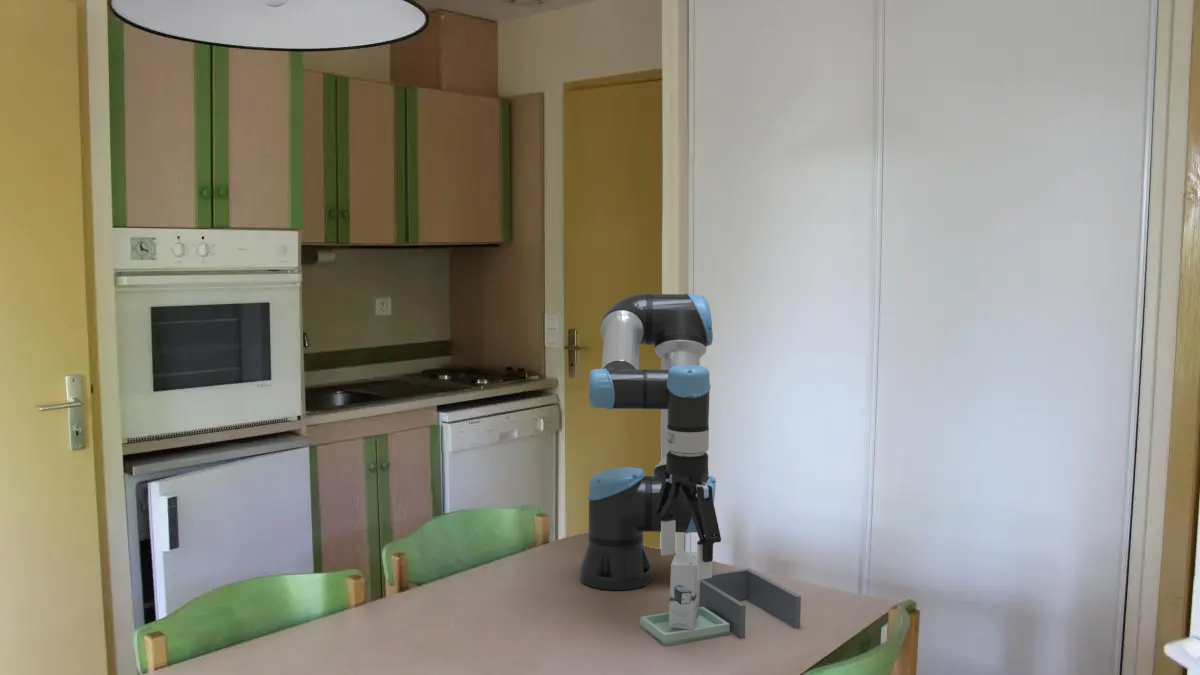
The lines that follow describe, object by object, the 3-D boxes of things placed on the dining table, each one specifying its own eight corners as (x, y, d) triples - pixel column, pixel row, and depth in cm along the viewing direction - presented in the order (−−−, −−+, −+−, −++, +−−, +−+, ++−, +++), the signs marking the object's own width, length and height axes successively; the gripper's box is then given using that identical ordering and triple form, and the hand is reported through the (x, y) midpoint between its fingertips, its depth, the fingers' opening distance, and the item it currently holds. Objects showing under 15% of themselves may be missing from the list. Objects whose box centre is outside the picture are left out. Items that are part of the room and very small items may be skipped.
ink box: (674, 610, 179) (675, 549, 178) (701, 613, 178) (702, 551, 177) (668, 627, 171) (669, 563, 170) (696, 630, 170) (697, 565, 169)
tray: (640, 627, 176) (640, 616, 176) (703, 616, 181) (703, 606, 181) (664, 646, 167) (664, 635, 167) (729, 634, 173) (729, 623, 173)
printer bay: (691, 606, 187) (692, 576, 187) (748, 597, 192) (748, 568, 192) (740, 638, 171) (740, 606, 171) (800, 627, 176) (800, 596, 176)
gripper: (638, 439, 182) (636, 548, 184) (704, 469, 159) (702, 592, 161) (672, 436, 185) (671, 543, 187) (742, 465, 162) (739, 585, 164)
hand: (685, 566), depth 174 cm, fingers open, 13 cm apart
